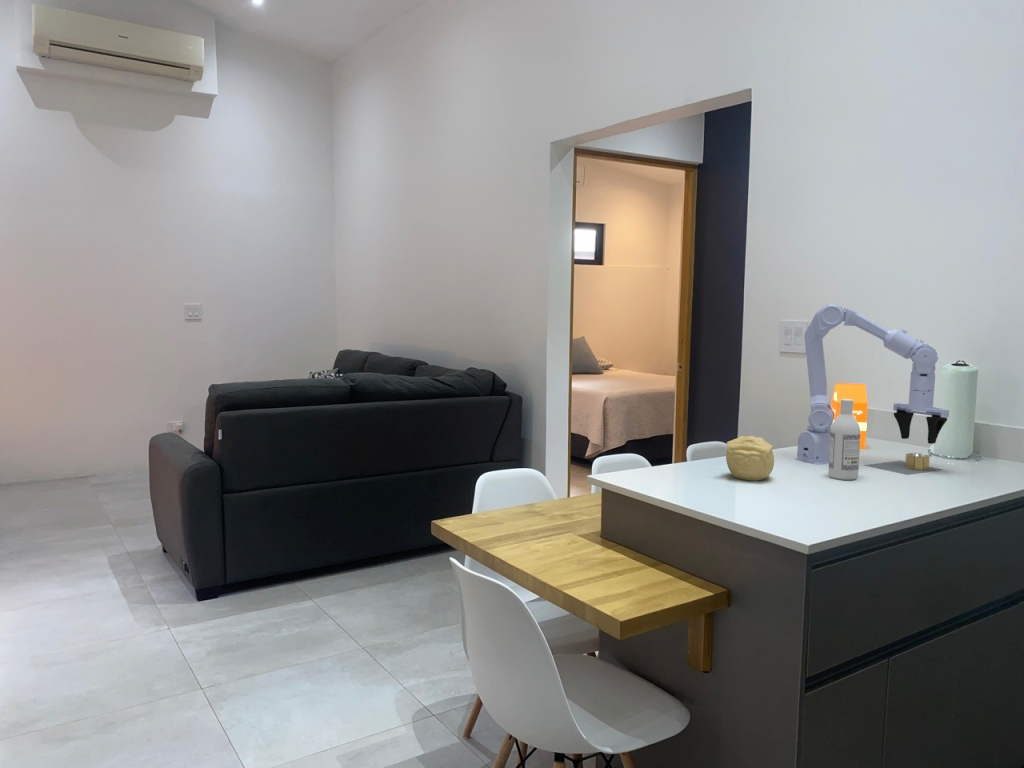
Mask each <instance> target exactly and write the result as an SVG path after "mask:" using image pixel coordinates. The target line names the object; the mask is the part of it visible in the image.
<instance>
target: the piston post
mask: <svg viewBox="0 0 1024 768" xmlns="http://www.w3.org/2000/svg"><path fill="white" fill-rule="evenodd" d="M912 453H913V456H920V457H923V453H921V452H912Z"/></svg>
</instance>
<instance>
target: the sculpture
mask: <svg viewBox="0 0 1024 768" xmlns="http://www.w3.org/2000/svg"><path fill="white" fill-rule="evenodd" d="M773 448H774V445H772V444H771V443H769V442H767V441H766V440H765V439H764V438H763V437H757V436H754V435H748V436H744V435H740V436H738V437H737V438H734V439H732V440H729V441H727V442H726V454H725V460H726V465H727V468H728V470H729V472H730V473H731V475H732V476H733V477H735V478H737V479H739V478H740V479H739V480H744V481H745V480H746V481H762V480H764V479H766V478H768V477H769V476H770V475H771V473H772V471H773V469H774V466H775V455H774V451H773Z"/></svg>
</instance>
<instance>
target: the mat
mask: <svg viewBox="0 0 1024 768" xmlns="http://www.w3.org/2000/svg"><path fill="white" fill-rule="evenodd" d="M863 466H865V467H870V468H875V469H878V470H883V471H888V472H891V473H897V474H902V475H906V476H910V475H918V474H922V473H930V472H931V473H932V472H939V471H944V470H945V469H943V468H938V467H933V466H929V470H925V471H920V470H911V469H907V468H905V460H904V461H903V460H893V461H887V462H879V463H878V462H877V463H870V464H869V463H868V464H864V465H863Z"/></svg>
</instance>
